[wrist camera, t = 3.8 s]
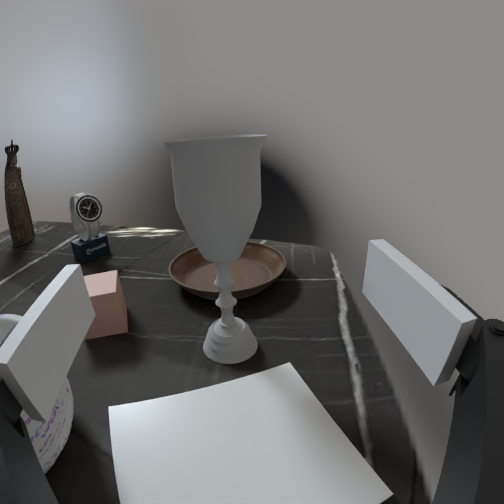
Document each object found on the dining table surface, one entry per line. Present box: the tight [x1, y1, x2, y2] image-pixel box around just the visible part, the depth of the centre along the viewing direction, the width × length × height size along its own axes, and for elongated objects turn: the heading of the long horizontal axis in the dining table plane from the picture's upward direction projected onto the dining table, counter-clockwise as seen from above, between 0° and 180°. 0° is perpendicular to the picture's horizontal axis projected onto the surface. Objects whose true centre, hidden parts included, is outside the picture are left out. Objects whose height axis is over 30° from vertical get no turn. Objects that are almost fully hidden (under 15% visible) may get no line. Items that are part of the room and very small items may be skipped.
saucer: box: [169, 241, 286, 300], centre depth 38 cm, size 15×15×3 cm
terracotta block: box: [83, 270, 128, 340], centre depth 29 cm, size 5×5×5 cm
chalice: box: [163, 135, 267, 364], centre depth 23 cm, size 7×7×18 cm
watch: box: [70, 192, 110, 263], centre depth 45 cm, size 6×8×11 cm
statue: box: [5, 140, 35, 247], centre depth 52 cm, size 9×8×25 cm
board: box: [109, 362, 393, 504], centre depth 15 cm, size 15×14×1 cm
